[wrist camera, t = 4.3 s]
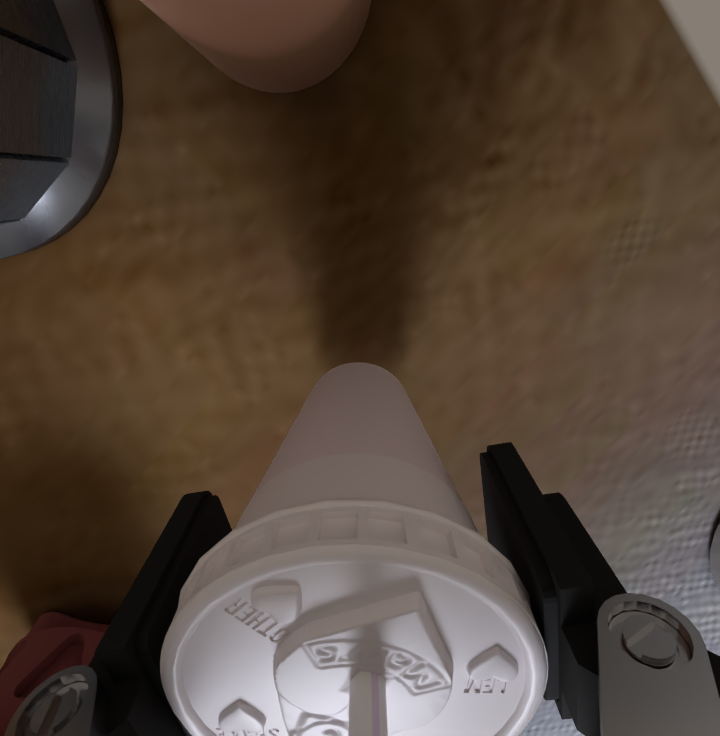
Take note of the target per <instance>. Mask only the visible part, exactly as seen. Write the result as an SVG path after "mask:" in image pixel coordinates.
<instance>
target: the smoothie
mask: <svg viewBox="0 0 720 736" xmlns="http://www.w3.org/2000/svg"><path fill="white" fill-rule="evenodd" d="M160 675H161V680H162V685H163V689H164V692H165V695H166V697H167V700H168V701H169V703H170V705H171V707H172V710H173V712H174V713H175V715H176V716H177V717H178V719H179V720H180V721H181V723H182V724H183V725H184V726H185V728H186V729H187V730H188V732H189V733H190V734H191V735H192V736H518V735H519V734H520V733H521V732H522V730H523V729H524V728H525V727H526V725H527V724H528V723H529V722H530V720H531V719H532V718H533V717H534V715H535V712H536V710H537V709H538V707H539V705H540V703H541V701H542V698H543V695H544V692H545V689H546V684H547V679H548V659H547V653H546V649H545V645H544V641H543V639H542V636H541V634H540V631H539V629H538V626H537V624H536V621H535V619H534V616H533V614H532V611H531V604H530V597H529V593H528V592H527V590H526V588H525V586H524V585H523V583H522V581H521V579H520V578H519V576H518V574H517V572H516V571H515V569H514V567H513V565H512V564H511V562H510V561H509V560H508V559H507V558H506V557H505V556H503V555H502V554H501V553H500V552H499V551H498V550H497V549H496V548H494V547H493V546H492V545H491V544H490V543H489V542H488V541H487V540H485V539H484V538H483V537H482V536H481V535H480V534H479V533H478V531H477V529H476V527H475V525H474V523H473V521H472V519H471V517H470V515H469V513H468V511H467V509H466V507H465V506H464V504H463V502H462V500H461V499H460V497H459V495H458V493H457V491H456V489H455V487H454V485H453V483H452V481H451V479H450V477H449V475H448V473H447V471H446V469H445V467H444V465H443V464H442V462H441V460H440V458H439V456H438V454H437V452H436V450H435V448H434V446H433V444H432V442H431V440H430V438H429V436H428V434H427V432H426V430H425V429H424V427H423V425H422V423H421V421H420V419H419V417H418V415H417V413H416V411H415V409H414V407H413V405H412V403H411V401H410V399H409V397H408V396H407V394H406V392H405V390H404V388H403V386H402V384H401V383H400V382H399V380H398V379H397V378H396V377H395V376H394V375H393V374H391V373H390V372H389V371H387V370H385V369H384V368H382V367H379V366H377V365H374V364H369V363H361V362H354V363H347V364H343V365H340V366H337V367H335V368H333V369H331V370H329V371H328V372H327V373H325V374H324V375H323V376H322V377H321V378H320V379H319V380H318V381H317V382H316V384H315V386H314V387H313V389H312V391H311V393H310V394H309V396H308V398H307V400H306V402H305V403H304V405H303V407H302V409H301V411H300V412H299V414H298V416H297V418H296V420H295V421H294V423H293V425H292V427H291V429H290V430H289V432H288V434H287V436H286V438H285V439H284V441H283V443H282V445H281V447H280V448H279V450H278V452H277V454H276V456H275V457H274V459H273V461H272V463H271V465H270V466H269V468H268V470H267V472H266V474H265V475H264V477H263V479H262V481H261V483H260V484H259V486H258V488H257V490H256V492H255V493H254V495H253V497H252V499H251V500H250V502H249V503H248V505H247V507H246V508H245V510H244V512H243V514H242V516H241V518H240V520H239V521H238V523H237V525H236V527H235V529H234V530H232V531H231V532H230V533H229V534H228V535H227V536H225V537H224V538H223V539H222V540H221V541H219V542H218V543H217V544H216V545H215V546H214V547H212V548H211V549H210V550H209V551H208V552H207V553H205V554H204V555H203V556H202V557H201V558H200V559H199V561H198V562H197V564H196V566H195V567H194V569H193V571H192V572H191V574H190V576H189V577H188V579H187V581H186V582H185V584H184V586H183V587H182V589H181V591H180V597H179V604H178V609H177V611H176V614H175V616H174V618H173V621H172V623H171V625H170V627H169V629H168V632H167V634H166V636H165V639H164V643H163V646H162V650H161V657H160Z"/></svg>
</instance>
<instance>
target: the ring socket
mask: <svg viewBox="0 0 720 736" xmlns="http://www.w3.org/2000/svg"><path fill="white" fill-rule="evenodd" d="M122 107H123V99H122V85H121V72H120V67H119V62H118V56H117V51H116V45H115V41H114V37H113V34H112V30H111V27H110V24H109V20H108V17H107V13H106V10H105V7H104V5H103V2H102V0H0V259H1V258H6V257H10V256H15V255H19V254H22V253H26V252H29V251H32V250H36V249H38V248H41V247H43V246H45V245H47V244H49V243H51V242H53V241H55V240H57V239H58V238H60V237H61V236H63V235H64V234H66V233H67V232H68V231H70V230H71V229H73V228H74V227H75V226H76V225H77V224H78V223H79V222H80V221H81V220H82V219H83V218H84V217H85V216H86V215H87V214H88V212H89V211H90V210H91V208H92V207H93V205H94V204H95V203H96V201H97V200H98V199H99V197H100V195H101V193H102V191H103V189H104V187H105V185H106V183H107V181H108V179H109V177H110V174H111V171H112V168H113V165H114V162H115V159H116V156H117V152H118V146H119V141H120V135H121V128H122Z"/></svg>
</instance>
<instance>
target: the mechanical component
mask: <svg viewBox="0 0 720 736" xmlns="http://www.w3.org/2000/svg"><path fill="white" fill-rule="evenodd" d="M108 627H109V625H107V624H99V623H94V622H88V621H84V620H81V619H77V618H74V617H71V616H69V615H66V614H63V613H60V612H48V613H44V614H42V615H41V616H40V617H39V619H38V620H37V622H36V623H35V624H34V626H33V627H32V629H31V630H30V632H29V633H28V634H27V636H26V637H24V638H23V639H21V640H20V641H19V642H18V643H17V644H16V645H15V646H14V648H13V649H12V651H11V652H10V653H9V655H8V657H7V659H6V661H5V663H4V665H3V667H2V668H1V670H0V736H4V735H5V731H6V729H7V727H8V725H9V722H10V720H11V718H12V716H13V715H14V713H15V712H16V710H17V709H18V707H19V706H20V705H21V703H22V702H23V701H24V700H25V699H26V698H27V697H28V696H29V694H30V693H31V692H32V691H33V690H34V689H35V688H37V687H38V686H39V685H40V684H41V683H43V682H44V681H45V680H46V679H48V678H49V677H51V676H53V675H54V674H56V673H58V672H59V671H61V670H64V669H67V668H69V667H72V666H79V665H85V666H88V665H89V663H90V662H91V660H92V658H93V656H94V655H95V652H94V651H95V650H96V648H97V646H98V644H99V643H100V641H101V639H102V637H103V636H104V634H105V632H106V630H107V629H108Z"/></svg>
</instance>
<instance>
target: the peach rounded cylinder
mask: <svg viewBox="0 0 720 736" xmlns="http://www.w3.org/2000/svg"><path fill="white" fill-rule="evenodd" d="M140 1H141V2H142V3H143V4H144V5H146V6H147V7H148V8H149V9H150V10H151V11H152V12H153V13H155V14H156V15H157V16H158V17H159V18H160V19H161V20H163V21H164V22H165V23H166V24H167V25H168V26H169V27H171V28H172V29H173V30H174V31H175V32H176V33H177V34H179V35H180V36H181V37H182V38H183V39H184V40H185V41H187V42H188V43H189V44H190V45H191V46H192V47H193V48H194V49H196V50H197V51H198V52H199V53H200V54H201V55H202V56H204V57H205V58H206V59H207V60H208V61H209V62H210V63H212V64H213V65H214V66H215V67H216V68H217V69H219V70H220V71H221V72H222V73H223V74H225V75H226V76H228V77H230V78H231V79H233V80H234V81H236V82H238V83H240V84H242V85H244V86H246V87H249V88H252V89H255V90H259V91H264V92H270V93H288V92H295V91H299V90H303V89H306V88H309V87H311V86H313V85H315V84H317V83H319V82H321V81H322V80H324V79H325V78H327V77H328V76H330V75H331V74H332V73H333V72H334V71H335V70H337V69H338V68H339V67H340V66H341V65H342V64H343V62H344V61H345V60H346V59H347V58H348V56H349V55H350V53H351V52H352V50H353V49H354V47H355V46H356V44H357V42H358V40H359V38H360V36H361V34H362V32H363V30H364V27H365V24H366V21H367V18H368V15H369V11H370V7H371V2H372V0H140Z"/></svg>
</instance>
